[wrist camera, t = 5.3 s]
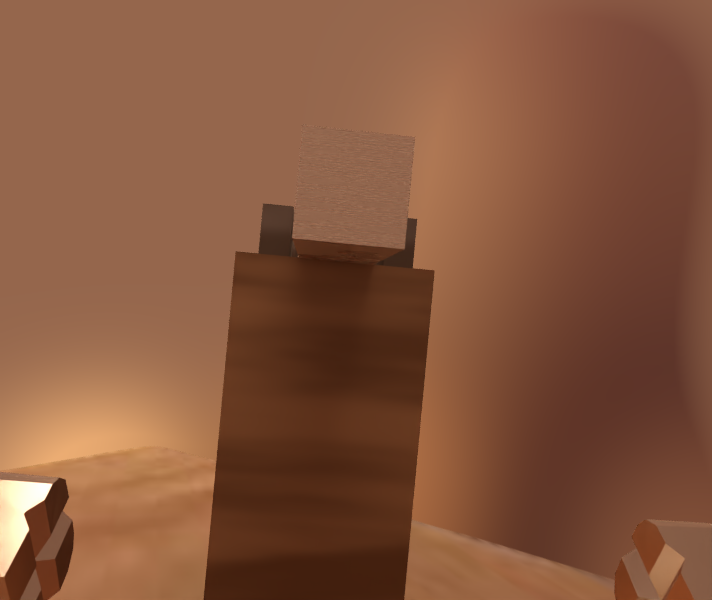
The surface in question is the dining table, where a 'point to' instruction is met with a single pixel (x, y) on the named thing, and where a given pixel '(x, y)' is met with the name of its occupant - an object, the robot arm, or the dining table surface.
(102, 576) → the dining table surface
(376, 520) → the knife block
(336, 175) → the brushed square bar end
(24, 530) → the robot arm
